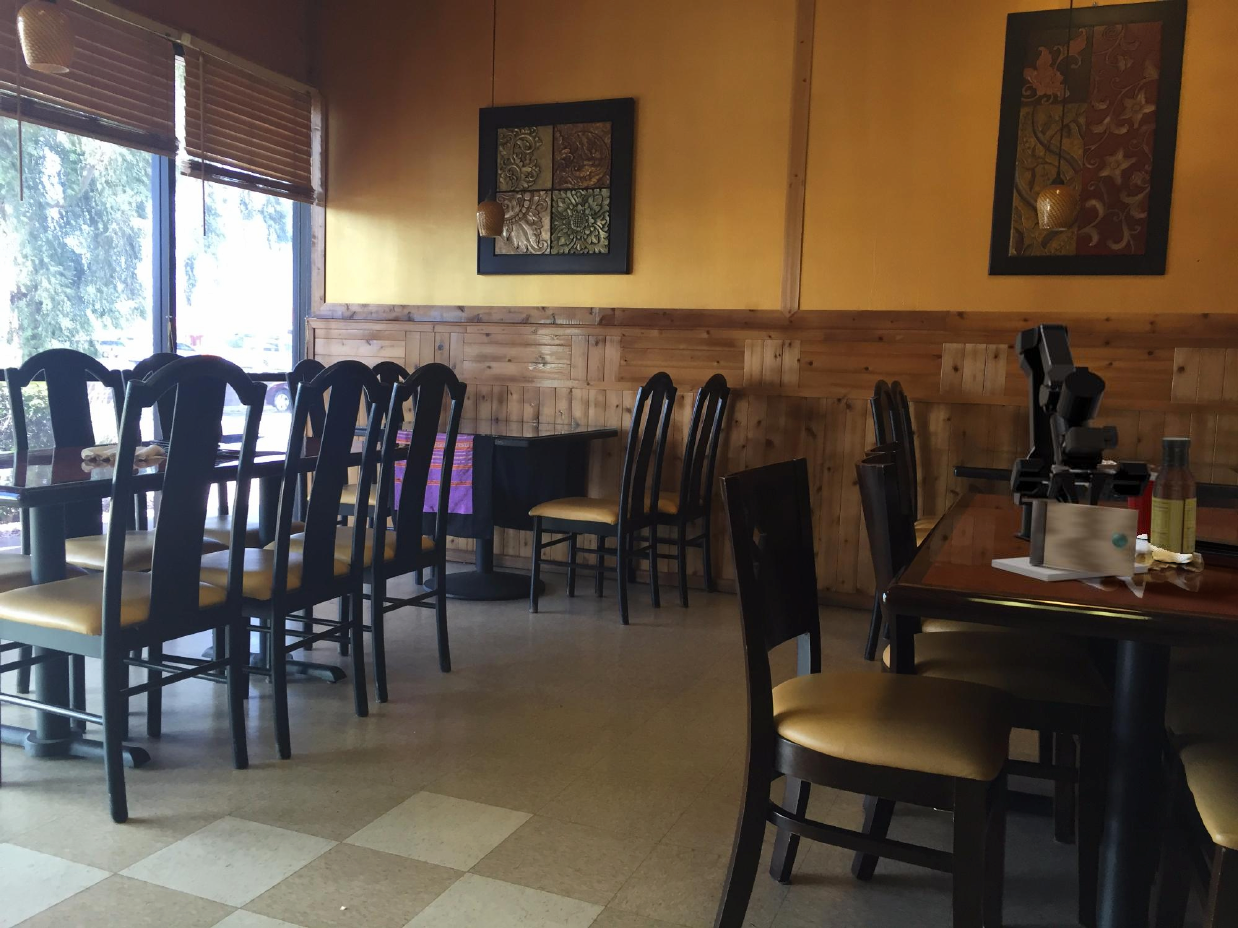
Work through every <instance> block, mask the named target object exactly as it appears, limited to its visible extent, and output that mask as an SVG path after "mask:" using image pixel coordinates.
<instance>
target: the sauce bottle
mask: <svg viewBox="0 0 1238 928" xmlns="http://www.w3.org/2000/svg"><path fill="white" fill-rule="evenodd" d="M1191 447H1192V440H1191V438H1187V437H1163V438H1162V439H1161V448H1162V458H1161V466H1160V468H1159V471H1158V472H1157V473H1158V474H1157V476H1156V478H1155V482H1154V486H1153V491H1152V520H1151V540H1150V545H1153V546H1156V547H1157V548H1162V549H1164V550H1167V551H1170V552H1174V553H1180V554H1193V555H1194V552H1195V548H1196V523H1197V521H1196V519H1197V496H1196V495H1197V494H1196V493H1197V492H1196V491H1197V483H1196V477H1195V476H1194V474H1193V473H1192V471H1191V469H1190V459H1189V458H1190V457H1189V456H1190V448H1191Z"/></svg>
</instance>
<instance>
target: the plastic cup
mask: <svg viewBox="0 0 1238 928" xmlns="http://www.w3.org/2000/svg"><path fill="white" fill-rule="evenodd" d="M1157 474H1158V472H1152V471H1151V477H1150V480H1149V482H1148V484H1147V487H1146V489H1145V492H1144V494H1143V496H1141V497H1139V498H1129V497H1127V504H1128V505H1127V507H1128V509H1131V510H1138V523H1137V536H1138V535H1142V534H1147V535H1148V538H1149V540H1148V541H1151V520H1152V491H1153V486H1154V482H1155V478H1156V476H1157Z"/></svg>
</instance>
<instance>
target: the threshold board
mask: <svg viewBox="0 0 1238 928" xmlns="http://www.w3.org/2000/svg"><path fill="white" fill-rule="evenodd" d="M1029 559H1030V556H1028V557H1027V556H1026V557H1024V556H1023V557H1014V558H1002V559H992V560H991V567H993V568H997V569H1001V570H1005V571H1007V572H1012V573H1016V574H1019V575H1023V576H1026V577H1030V578H1034V579H1037V580H1041V581H1045V582H1053V581H1054V582H1055V581H1056V582H1057V581H1065V580H1077V579H1078V580H1079V579H1086V578H1089V579H1090V578H1097V577H1099V578H1100V577H1110V576H1112V575H1111V574H1104V573H1097V572H1089V571H1082V570H1075V569H1068V568H1060V567H1053V566H1046V565H1044V564H1043V565H1034V564H1030V563H1029ZM1148 567H1149V566H1148V565H1147V564H1142V563H1137V562H1135V566H1134V574H1142V573H1148V570H1149V569H1148Z"/></svg>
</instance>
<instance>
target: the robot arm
mask: <svg viewBox="0 0 1238 928" xmlns="http://www.w3.org/2000/svg"><path fill="white" fill-rule="evenodd" d="M1070 333H1071V332H1070V331H1069V329H1068V325H1066V324H1065V325H1064V324H1063V323H1040V324H1036V325H1035V326H1034V327H1031V328H1028V329H1024V330H1021V331H1020V332H1019V334H1018V335H1017V336H1016V339H1015V355H1017V356H1018V365H1019V368H1020V369H1021V371H1022V372H1023V374H1025V376H1026V377H1027V378H1028V397H1029V398H1028V400H1029V401H1028V405H1029V409H1028V410H1029V450H1030V451H1029V452H1030V453H1029V454H1028V456H1027V457H1026V458H1022V457H1021V458H1017V459H1016V460H1015V461H1014V464H1013V468H1012V473H1011V476H1010V490H1011V492H1013V502H1014V503H1015V504H1016V505H1017V506H1019V507H1020V506H1022V515H1021V516H1022V518H1021V530H1020V531H1021V532H1013V536H1015V537H1017V538H1021V539H1022V540H1025V541H1030V542H1031V526H1032V509H1033V500H1040V499H1042V500H1043V501H1047V504H1048V502H1059V503H1069V504H1080V501H1079V497H1078V493H1077V489H1076V485H1083V486H1084V485H1086V486H1087V491H1086V493H1085V497H1084V500H1085V501H1084V503H1085V505H1090V506H1098V504H1099V501H1105V500H1107V499H1108V495H1109V493H1110V490H1111V488H1112V494H1114V495H1116V496H1117V497H1118V498H1128V497H1129V498H1139V497H1141V496H1143V494H1144V492H1145V489H1146V487H1147V484H1148V482H1149V480H1150V477H1151V472H1152V471H1151V467H1150V465H1149V464H1148V463H1147V462H1144V461H1122V460H1121V461H1119V462H1118V465H1117V467H1116V469H1108V468H1104V469H1101V468H1099V465H1103V464H1102V463H1103V461H1104V458H1103V452H1104V451H1106V450H1111V451H1112V450H1115V449H1116V448H1117V447H1118V446H1119V441H1120V440H1119V432H1118V427H1117V426H1116V425H1103V426H1102V427H1095V426H1094V427H1092V424H1091V420H1094V419H1095V418H1096V416H1097V413H1098V411H1099V408H1100V404H1101V402H1102V401H1103V400H1102V399H1103V395H1104V392H1105V390H1106V381H1105V380H1104V379H1103V378H1102V377H1101V376H1100V375H1098V374H1097V373H1095V372H1093V371H1090V369H1089V366H1078V365H1077V366H1075V363H1074V359H1073V355H1072V352H1071V348H1070V335H1071V334H1070ZM1024 497H1025V498H1024ZM1046 520H1047V518H1046ZM1045 536H1046V535H1045Z"/></svg>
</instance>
